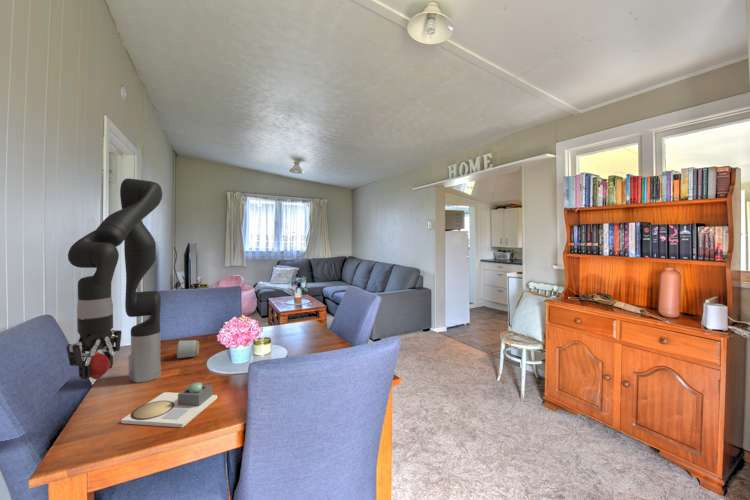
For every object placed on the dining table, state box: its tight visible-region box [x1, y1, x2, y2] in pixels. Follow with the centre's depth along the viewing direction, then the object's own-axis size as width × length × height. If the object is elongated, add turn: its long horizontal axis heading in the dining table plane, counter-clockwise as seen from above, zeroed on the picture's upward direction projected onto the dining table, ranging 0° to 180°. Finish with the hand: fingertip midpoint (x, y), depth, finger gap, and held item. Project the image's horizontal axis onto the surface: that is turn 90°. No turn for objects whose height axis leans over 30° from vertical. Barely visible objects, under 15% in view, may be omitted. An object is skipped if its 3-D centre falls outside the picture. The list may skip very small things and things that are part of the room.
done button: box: [188, 381, 203, 393], centre depth 105 cm, size 4×4×3 cm
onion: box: [89, 350, 111, 380], centre depth 90 cm, size 6×6×8 cm
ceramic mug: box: [176, 339, 200, 359], centre depth 147 cm, size 11×8×8 cm
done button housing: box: [178, 384, 213, 406], centre depth 105 cm, size 7×7×4 cm
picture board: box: [120, 391, 218, 428], centre depth 101 cm, size 20×17×1 cm
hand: (96, 373), depth 90 cm, fingers closed on onion, 6 cm apart
